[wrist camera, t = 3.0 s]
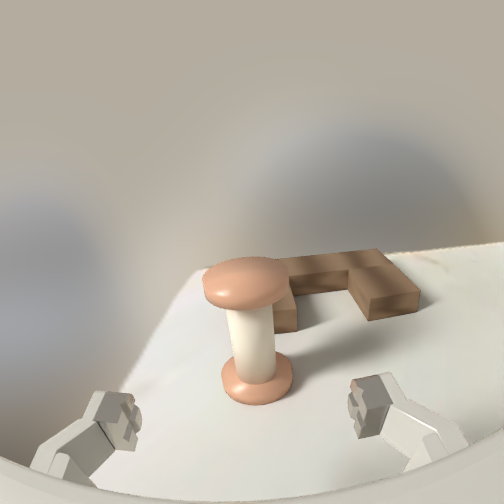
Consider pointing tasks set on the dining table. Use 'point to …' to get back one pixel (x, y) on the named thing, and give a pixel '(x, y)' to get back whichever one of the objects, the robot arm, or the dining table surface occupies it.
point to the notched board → (347, 285)
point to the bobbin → (251, 326)
